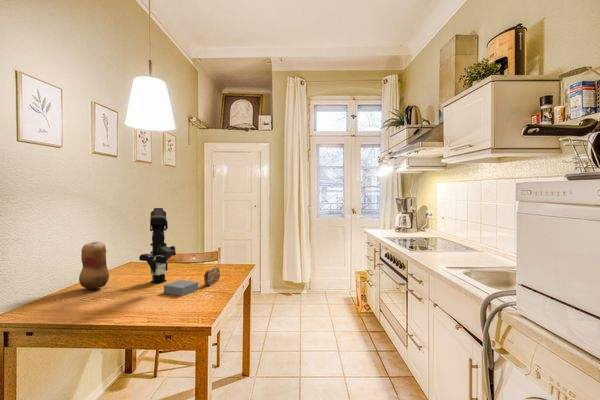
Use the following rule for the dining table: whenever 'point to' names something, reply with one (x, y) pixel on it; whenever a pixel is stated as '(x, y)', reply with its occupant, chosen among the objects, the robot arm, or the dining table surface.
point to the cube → (159, 269)
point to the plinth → (180, 287)
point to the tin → (211, 276)
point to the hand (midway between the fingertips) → (158, 271)
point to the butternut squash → (94, 266)
